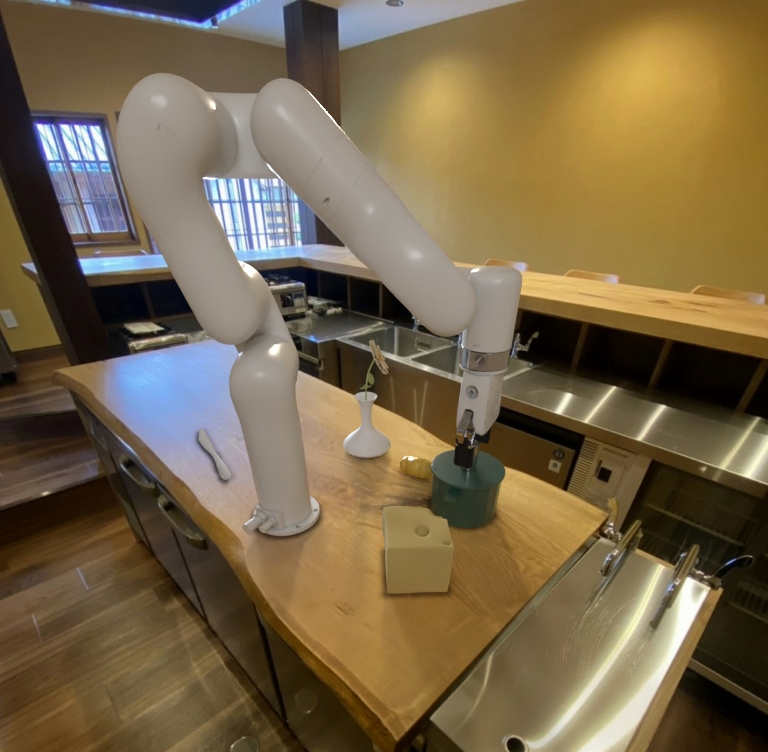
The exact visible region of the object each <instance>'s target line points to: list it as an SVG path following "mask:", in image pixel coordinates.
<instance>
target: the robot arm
mask: <svg viewBox="0 0 768 752" xmlns="http://www.w3.org/2000/svg"><path fill="white" fill-rule="evenodd" d="M115 145H116V146H115V147H116V157H117V162H118V168H119V171H120V174H121V178H122V181H123V184H124V186H125V189H126V191H127V193H128V196H129V198H130V200H131V202H132V204H133V206H134V208H135V210H136V212H137V214H138V216H139V218H140V219H141V221H142V223H143V224H144V226H145V228H146V229H147V231H148V233H149V234H150V236H151V238H152V239H153V242H154V243H155V246H156V247H157V248H158V251H159V252H160V254H161V256H162V258H163V260H164V262H165V264H166V266H167V267H168V270H169V271H170V273H171V275H172V277H173V278H174V281H175V282H176V284H177V286H178V288H179V289H180V291H181V293H182V295H183V296H184V298H185V301H186V302H187V304H188V307H190V309H191V311H192V313H193V315H194V317H195V319H196V320H197V322H198V324H199V325H200V327H201V328H202V329H203V331H204V333H206V334H207V335H208V336H209V337H210V338H211V339H212V340H214V341H216V342H218V343H220V344H222V345H227V346H234V348H235V349H236V352H237V353H238V354H237V357H236V358H235V360H234V361H233V364H232V366H231V368H230V373H229V377H228V389H229V396H230V399H231V402H232V405H233V408H234V411H235V413H236V416H237V418H238V422H239V424H240V428H241V433H242V436H243V440H244V445H245V449H246V452H247V458H248V461H249V466H250V470H251V474H252V475H251V476H252V480H253V483H254V488H255V493H256V499H257V502H258V503H257V504H256V505H254V508H255V509H254V510H253V514H252V518H251V519H249V520H247V521H246V522H245V523H244V524H242V527H241V528H242V530H243V531H244V533H246V534H247V535H250V534H252V532H254V531H255V530H256V529H258V530H259V531H260V532H261V533H262V534H267V535H270V536H275V537H288V536H293V535H297V534H300V533H303V532H305V531H307V530H308V529H310V528H311V527H313V526H314V525H315V524H316V523H317V521H318V520H319V518H320V515H321V509H320V508H321V507H320V505H319V502H318V501H317V500H316V499H315V498H314V497H313V496H311V492H310V486H309V485H310V484H309V478H308V470H307V461H306V454H305V446H304V440H303V432H302V426H301V425H302V424H301V419H300V414H299V410H298V403H297V393H296V384H297V381H298V374H299V370H300V358H299V357H300V356H299V354H298V350H297V347H296V345H295V342H294V340H293V338H292V335H291V333H290V331H289V328H288V326H287V324H286V322H285V320H284V317H283V315H282V313H281V311H280V309H279V306H278V303H277V302H276V299H275V297H274V295H273V292H272V291H271V289H270V287H269V285H268V283H267V281H266V280H265V279H264V277H263V276H262V275H261V273H260V272H259V271H258V270H257V269H256V268H254V267H253V266H251V265H250V264H248V263H246V262H244V261H241V260H238V257H237V256H236V253H235V252H234V249H233V247H232V244H231V243H230V241H229V239H228V236H227V234H226V231H225V229H224V227H223V225H222V223H221V221H220V219H219V217H218V216H217V214H216V212H215V210H214V209H213V207H212V205H211V204H210V202H209V200H208V198H207V195H206V192H205V188H204V180H232V179H235V180H236V179H238V180H240V179H241V180H246V179H247V180H262V179H263V180H273V179H274V180H277V179H278V180H280V181H282V183H284V185H286V187H287V188H289V190H290V191H291V192H292V193H293V194H294V195H295V196H296V197H297V198H299V199H300V200H301V201H302V203H304V204H305V206H306V207H308V208H309V210H311V211H312V213H313V214H314V215H316V216H317V218H318V219H319V220H320V221H321V222H322V223H323V224H324V225H325V226H326V227H327V229H329V230H330V231H331V232H332V234H333V235H334V236H336V238H338V240H339V241H340V242H341V243H342V244H343V245H344V246H345V247H346V248H347V249H348V250H349V251H350V253H351V254H352V255H353V256H354V257H355V258H356V259H357V260H358V261H359V262H360V263H362V264H363V265H364V266H366V268H367V269H368V270H370V272H372V273H373V274H374V275H375V276H376V278H377V279H378V280H379V281H380V282H381V283H382V284H383V285H384V286H385V287H386V288H387V289H388V290H389V292H390V293H391V294H392V295H393V296H394V297H395V298H396V299H397V300H398V301H399V302H400V303H401V304H402V305H403V306H404V307H405V308H406V309H407V310H408V311H409V313H411V314H412V315H413V316H414V317H415V318H416V319H417V320H418V321H419V322H420V324H422V325H423V327H424V328H425V329H426V330H428V331H429V332H430V333H432V334H434V335H436V336H439V337H445V338H449V337H454V336H457V335H459V334H461V333H462V337H461V349H460V357H459V369H461V370H462V371H463V373H462V379H461V383H460V389H459V397H458V404H457V410H456V411H457V413H456V422H455V423H456V432H455V435H456V437H455V443H454V450H455V454H454V465H457V466H461V467H465V468H469V469H470V468H471V467H472V464H473V456H474V449H475V447H473V444H474V441H475V440H476V441H478V442H479V443H480V444H481V443H482V444H485V445H488V444H489V442H490V439H491V438H490V437H491V433H492V426H493V424H494V423H495V422H496V420H497V419H498V417H499V415H500V411H501V402H502V394H503V388H504V387H503V386H504V377H505V376H504V375H505V373H506V372H507V371H508V370H509V363H510V358H511V352H512V345H513V340H514V333H515V328H516V324H517V323H516V322H517V316H518V311H519V310H518V309H519V304H520V298H521V293H522V289H523V288H522V286H523V275H522V273H521V271H520V270H518V269H517V268H515V267H510V266H506V265H505V266H504V265H485V266H484V265H483V266H479V267H466V266H457V265H456V264H455V263H454V262H453V261H452V260H451V259H450V257H449V256H448V255H447V254H446V253H445V252H444V250H443V249H442V248H441V247H440V246H439V245H438V244H437V242H436V241H435V240H434V239H433V238H432V237H431V235H430V234H429V233H428V232H427V230H426V229H424V227H423V226H422V225H421V224H420V223H419V222H418V220H417V219H416V218H415V216H414V215H413V214H412V212H411V211H410V210H409V209H408V207H407V206H406V205H405V203H404V201H403V200H402V199H401V198H400V196H399V195H398V194H397V192H396V191H395V190H394V189H393V188H392V186H391V185H390V184H389V182H387V181H386V179H385V178H384V177H383V175H381V174H380V172H379V171H378V170H377V169H376V168H375V167H374V165H372V163H371V162H370V161H369V160H368V158H367V157H366V156H365V155H364V154H363V153H362V151H360V149H359V148H358V147H357V146H356V144H355V143H354V142H353V141H352V140H351V139H350V137H349V136H348V135H347V134H346V133H345V131H343V129H342V128H341V127H340V126H339V125H338V124H337V122H336V121H335V120H334V118H333V117H332V116H331V115H330V114H329V113H328V111H326V109H325V108H324V107H323V105H322V104H321V103H320V102H319V101H318V100H317V99H316V97H315V96H314V95H313V94H312V93H311V92H310V91H309V90H308V89H306V88H305V86H303V85H302V84H301V83H299V82H297V81H295V80H293V79H290V78H285V77H280V78H275V79H272V80H271V81H269V82H267V83H266V84H265V85H263V86H262V88H260V89H259V92H252V93H251V92H220V91H219V92H217V91H206V90H204V89H203V88H201V87H200V86H198V85H197V84H195V83H194V82H192V81H191V80H189V79H187V78H185V77H183V76H179V75H176V74H173V73H168V72H157V73H153V74H149V75H147V76H145V77H143V78H142V79H140V80H139V81H137V83H135V84H134V85H133V87H132V88H131V90H130V91H129V93H128V94H127V95H126V97H125V98H124V101H123V103H122V106H121V109H120V112H119V114H118V119H117V124H116V134H115ZM469 427H471V428H469ZM467 434H469V435H470V438H469V437H467ZM469 439H470V441H469Z"/></svg>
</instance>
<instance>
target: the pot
mask: <svg viewBox="0 0 768 752" xmlns="http://www.w3.org/2000/svg"><path fill="white" fill-rule="evenodd" d="M480 451H481V450H480ZM481 452H484V453H487V454H489V452H486V451H481ZM431 480H432V481H431V490H430V491H431V492H430V505H429V506H430V507H429V508H430V510H431V512H432V513H433V514H434V515H435V516H440V517H442V518H443V519H447V522H448V526H449V527H450V526H451V527H454V528H459V529H474V528H479V527H483V526H484V525H487V524H488V523H490V522H491V521H492V519H493V518H494V516H495V513H496V509H497V505H498V500H499V495H500V492H501V491H500V490H501V485H502V482H501V483H500V484H498V485H496V486H494V487H492V488H489V489H484V490H463V489H458V488H454V487H451V486H449V485H446V484H444V483H443V482H441V481H439V480H438V479H437V478H436V477H435V476H434V474H433V475H432V479H431Z"/></svg>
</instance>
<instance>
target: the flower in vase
mask: <svg viewBox="0 0 768 752" xmlns="http://www.w3.org/2000/svg"><path fill="white" fill-rule="evenodd" d="M368 344H369V348H370V352H371V355H372V357H373V359H372V362H371V363H370V365H369V368H368V370H367V374H366V379H365V384H364V385H362V387H359V389H360V390H364V391H360V392H357V393H356V394H355V395H354V399H355V400H356V401H357V403H358V405H359V408H360V414H361V416H360V417H361V424H360V426H359V427H358V428H357V429H355V430H353V431H352V432H351V433H349V434H348V435H347V436H346V437H345V438H344V441H343V443H342V447H343V449H344V451H345V452H346V453H347V454H348V455H349V456H352V457H355V458H359V459H374V458H378V457H381V456H383V455H385V454H386V453H388V452H389V450H390V449H391V446H392V443H391V440H390V438H389V437H388V436H387V435H386V434H385V433H383V432H382V431H380V430H379V429H377V428H376V427H374V426H373V423H372V410H373V406H374V402H376V400H377V398H378V395H377V393H375V392H372V391H368V389H369V388H371V387H372V385H374V384H375V377H374V375H373V374H372V373H370V372H371V369H372V367H373V365H374V363H375V364H376V365H377V367H378V369H379V371H381V373H382V374H383V375H388V374H390V373H389V366H388V364H387V362H386V361H385V360H386V357H385V355H384V354H383V353H382V351H381V348H380V346H379V345H378V344H376V342H375V340H374V339H373V338H372V339H370V340H369V342H368ZM368 383H369V384H370V385H368Z"/></svg>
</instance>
